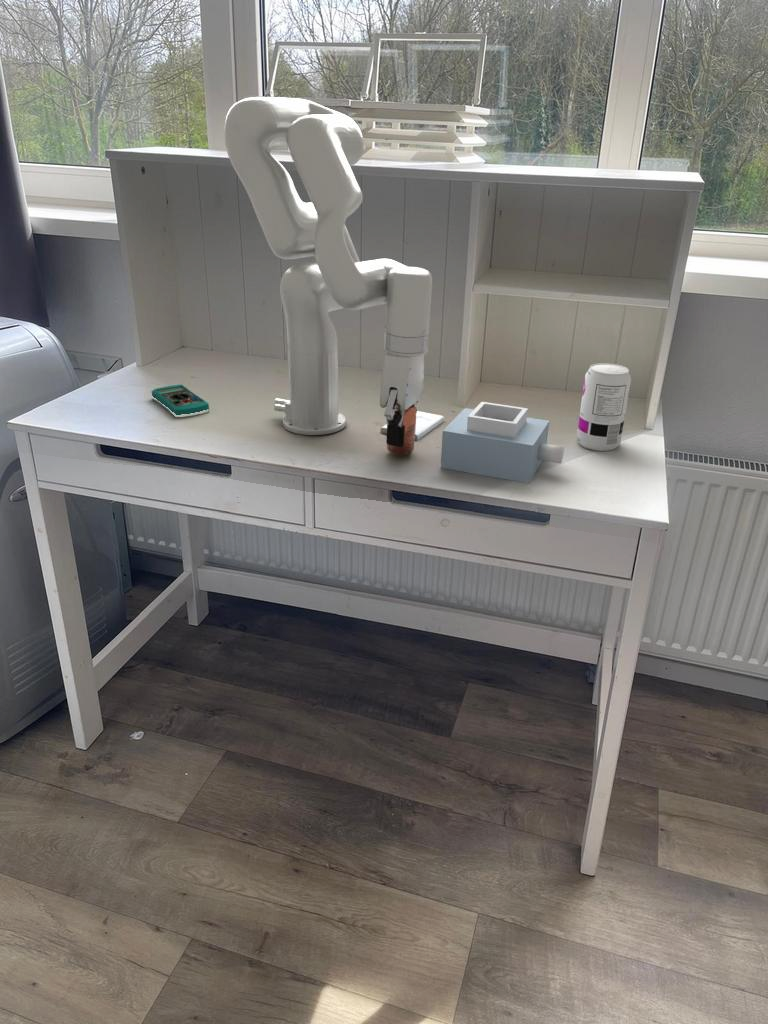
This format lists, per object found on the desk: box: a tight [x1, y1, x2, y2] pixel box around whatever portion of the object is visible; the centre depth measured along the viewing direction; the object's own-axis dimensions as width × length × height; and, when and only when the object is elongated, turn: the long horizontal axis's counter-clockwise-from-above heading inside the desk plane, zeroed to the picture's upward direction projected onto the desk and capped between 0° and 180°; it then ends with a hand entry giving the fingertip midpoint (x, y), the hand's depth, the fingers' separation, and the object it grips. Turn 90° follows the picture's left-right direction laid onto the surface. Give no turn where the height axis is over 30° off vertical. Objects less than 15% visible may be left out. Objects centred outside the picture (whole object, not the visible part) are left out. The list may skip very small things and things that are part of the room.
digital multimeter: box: [151, 384, 210, 415], centre depth 166 cm, size 7×15×3 cm, turn 35°
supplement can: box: [576, 362, 632, 452], centre depth 147 cm, size 8×8×15 cm
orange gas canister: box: [386, 405, 418, 455], centre depth 142 cm, size 5×5×10 cm
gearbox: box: [440, 401, 565, 484], centre depth 139 cm, size 20×13×10 cm, turn 67°
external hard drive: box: [379, 410, 445, 441], centre depth 157 cm, size 2×8×12 cm
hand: (400, 438), depth 143 cm, fingers closed on orange gas canister, 5 cm apart
